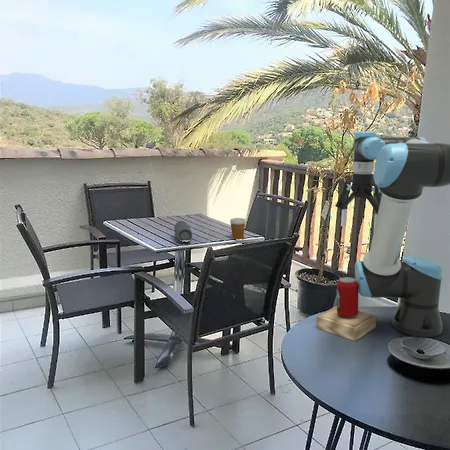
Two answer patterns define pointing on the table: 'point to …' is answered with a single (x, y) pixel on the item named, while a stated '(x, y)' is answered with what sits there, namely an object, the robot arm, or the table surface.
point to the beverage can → (347, 297)
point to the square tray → (346, 324)
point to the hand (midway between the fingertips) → (359, 228)
